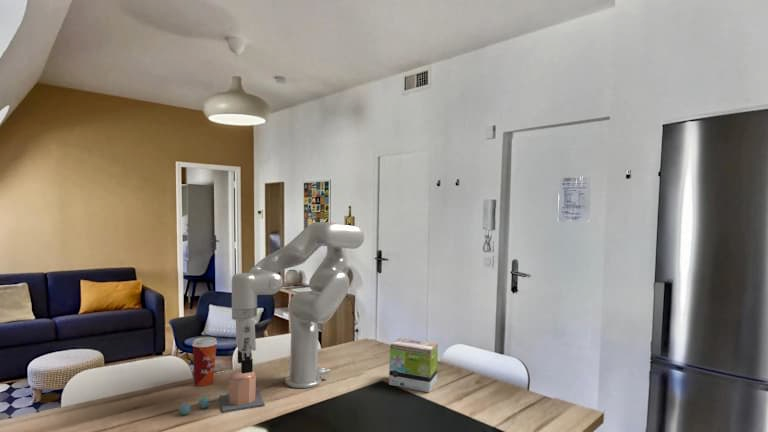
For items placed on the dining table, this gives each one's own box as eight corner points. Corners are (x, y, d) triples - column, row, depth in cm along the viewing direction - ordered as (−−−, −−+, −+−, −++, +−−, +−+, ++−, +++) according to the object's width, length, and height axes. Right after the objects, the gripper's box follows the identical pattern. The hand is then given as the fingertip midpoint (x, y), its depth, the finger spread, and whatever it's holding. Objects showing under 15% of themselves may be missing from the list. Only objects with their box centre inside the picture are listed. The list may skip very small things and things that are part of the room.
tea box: (388, 386, 148) (389, 343, 148) (398, 376, 157) (399, 336, 157) (430, 393, 142) (430, 349, 142) (437, 383, 151) (438, 341, 152)
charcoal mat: (258, 391, 140) (258, 389, 140) (264, 406, 129) (264, 404, 129) (219, 397, 135) (219, 395, 135) (222, 412, 124) (222, 410, 124)
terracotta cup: (252, 393, 137) (253, 368, 137) (256, 402, 130) (257, 376, 131) (227, 397, 134) (228, 371, 134) (230, 406, 127) (231, 379, 127)
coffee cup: (207, 388, 142) (208, 343, 142) (185, 386, 144) (186, 341, 144) (221, 379, 150) (222, 337, 150) (200, 377, 152) (202, 335, 152)
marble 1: (191, 400, 123) (194, 410, 123) (185, 401, 125) (188, 411, 125) (181, 406, 121) (185, 416, 121) (176, 407, 122) (179, 416, 122)
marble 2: (207, 394, 129) (208, 404, 129) (197, 397, 128) (197, 407, 128) (210, 397, 127) (210, 408, 127) (200, 400, 125) (200, 410, 125)
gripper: (261, 317, 127) (261, 374, 127) (252, 306, 142) (253, 357, 142) (235, 320, 124) (235, 379, 124) (229, 308, 139) (229, 360, 139)
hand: (244, 367), depth 133 cm, fingers open, 9 cm apart
